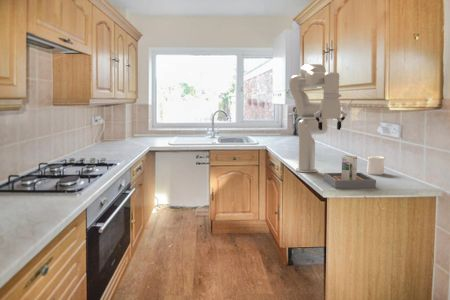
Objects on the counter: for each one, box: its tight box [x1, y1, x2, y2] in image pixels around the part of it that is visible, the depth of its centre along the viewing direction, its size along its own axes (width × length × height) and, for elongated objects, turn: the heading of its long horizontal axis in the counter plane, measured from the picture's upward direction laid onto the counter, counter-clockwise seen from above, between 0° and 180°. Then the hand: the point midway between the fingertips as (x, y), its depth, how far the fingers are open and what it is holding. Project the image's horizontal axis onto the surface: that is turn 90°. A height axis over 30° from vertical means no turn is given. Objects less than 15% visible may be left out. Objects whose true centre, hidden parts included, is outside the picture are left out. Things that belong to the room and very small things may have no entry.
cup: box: [366, 155, 385, 176], centre depth 238 cm, size 10×10×10 cm
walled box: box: [323, 172, 377, 189], centre depth 210 cm, size 20×20×4 cm
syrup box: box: [341, 154, 358, 180], centre depth 210 cm, size 6×6×14 cm
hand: (329, 129), depth 214 cm, fingers open, 9 cm apart
